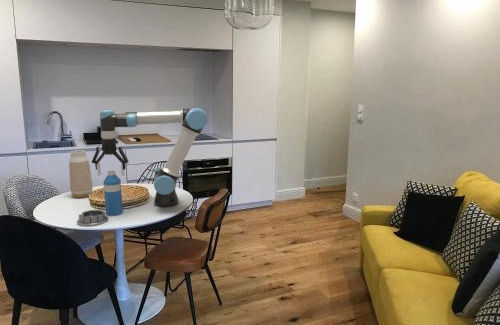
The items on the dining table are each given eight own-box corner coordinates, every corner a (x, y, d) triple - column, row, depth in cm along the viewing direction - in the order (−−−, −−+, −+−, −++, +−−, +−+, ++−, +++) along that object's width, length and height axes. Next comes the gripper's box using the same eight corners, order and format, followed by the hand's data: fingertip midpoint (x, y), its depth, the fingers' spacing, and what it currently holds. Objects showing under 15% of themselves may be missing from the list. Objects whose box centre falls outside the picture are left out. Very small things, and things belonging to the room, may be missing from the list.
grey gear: (112, 216, 225) (111, 208, 224) (101, 226, 210) (101, 218, 209) (84, 216, 226) (83, 208, 225) (71, 226, 210) (70, 218, 209)
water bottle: (126, 211, 234) (123, 170, 229) (116, 216, 225) (112, 173, 221) (113, 210, 237) (109, 169, 232) (102, 215, 228) (98, 172, 224)
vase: (68, 196, 269) (63, 151, 263) (88, 192, 278) (84, 148, 272) (75, 200, 259) (71, 153, 253) (96, 196, 268) (92, 151, 262)
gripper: (132, 137, 226) (134, 173, 230) (89, 137, 227) (92, 173, 231) (128, 139, 219) (130, 176, 223) (83, 139, 219) (86, 176, 223)
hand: (111, 175), depth 227 cm, fingers open, 13 cm apart
